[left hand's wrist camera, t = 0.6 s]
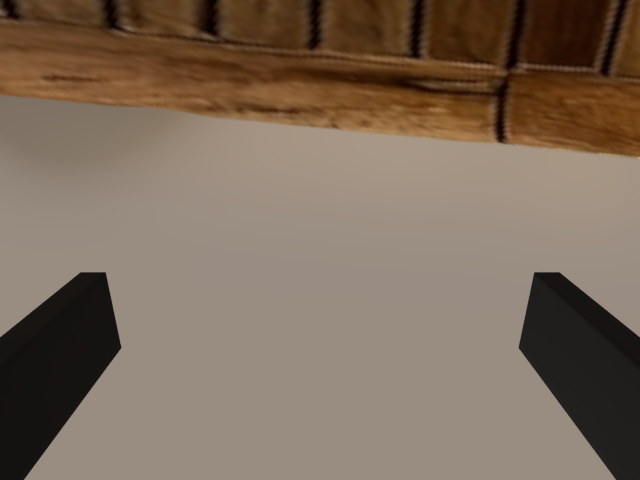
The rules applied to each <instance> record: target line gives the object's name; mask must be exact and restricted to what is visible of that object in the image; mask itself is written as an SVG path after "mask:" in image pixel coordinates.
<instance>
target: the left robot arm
mask: <svg viewBox="0 0 640 480" xmlns="http://www.w3.org/2000/svg"><path fill="white" fill-rule="evenodd" d="M120 349H121V344H120V339H119V334H118V329H117V325H116V320H115V315H114V311H113V305H112V301H111V296H110V291H109V286H108V281H107V277H106V273H105V272H81V273H79V274H78V275H77V276H76V277H74V278H73V279H72V280H71V281H69V282H68V283H67V284H66V285H64V286H63V287H62V288H61V289H60V290H58V291H57V292H56V293H55V294H53V295H52V296H51V297H50V298H48V299H47V300H46V301H45V302H43V303H42V304H41V305H40V306H38V307H37V308H36V309H35V310H34V311H32V312H31V313H30V314H29V315H27V316H26V317H25V318H24V319H22V320H21V321H20V322H19V323H17V324H16V325H15V326H14V327H12V328H11V329H10V330H9V331H8V332H6V333H5V334H4V335H3V336H1V337H0V480H24V479H25V477H26V476H27V475H28V473H29V472H30V471H31V469H32V468H33V467H34V465H35V464H36V463H37V461H38V460H39V459H40V457H41V456H42V454H43V453H44V452H45V450H46V449H47V448H48V446H49V445H50V444H51V442H52V441H53V440H54V438H55V437H56V436H57V434H58V433H59V431H60V430H61V429H62V427H63V426H64V425H65V423H66V422H67V421H68V419H69V418H70V417H71V415H72V414H73V412H74V411H75V410H76V408H77V407H78V406H79V404H80V403H81V402H82V400H83V399H84V398H85V396H86V395H87V394H88V392H89V391H90V390H91V388H92V387H93V385H94V384H95V383H96V381H97V380H98V379H99V377H100V376H101V375H102V373H103V372H104V371H105V369H106V368H107V366H108V365H109V364H110V362H111V361H112V360H113V358H114V357H115V356H116V354H117V353H118V352H119V350H120ZM519 349H520V350H521V352H522V353H523V354H524V356H525V357H526V358H527V360H528V361H529V363H530V364H531V365H532V367H533V368H534V369H535V371H536V372H537V373H538V375H539V376H540V377H541V379H542V380H543V381H544V383H545V384H546V385H547V387H548V388H549V389H550V391H551V392H552V394H553V395H554V396H555V398H556V399H557V400H558V402H559V403H560V404H561V406H562V407H563V408H564V410H565V411H566V412H567V414H568V415H569V417H570V418H571V419H572V421H573V422H574V423H575V425H576V426H577V427H578V429H579V430H580V431H581V433H582V434H583V436H584V437H585V438H586V440H587V441H588V442H589V444H590V445H591V446H592V448H593V449H594V450H595V452H596V453H597V454H598V456H599V457H600V458H601V460H602V461H603V463H604V464H605V465H606V467H607V468H608V469H609V471H610V472H611V473H612V475H613V476H614V477H615V479H616V480H640V337H639V336H637V335H636V334H635V333H634V332H633V331H631V330H630V329H629V328H628V327H626V326H625V325H624V324H623V323H621V322H620V321H619V320H618V319H616V318H615V317H614V316H613V315H611V314H610V313H609V312H608V311H607V310H605V309H604V308H603V307H601V306H600V305H599V304H598V303H596V302H595V301H594V300H593V299H592V298H590V297H589V296H588V295H587V294H585V293H584V292H583V291H582V290H580V289H579V288H578V287H577V286H576V285H574V284H573V283H572V282H571V281H569V280H568V279H567V278H566V277H564V276H563V275H562V274H561V273H559V272H535V273H534V277H533V282H532V286H531V291H530V296H529V301H528V305H527V310H526V315H525V320H524V325H523V329H522V334H521V339H520V344H519Z"/></svg>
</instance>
